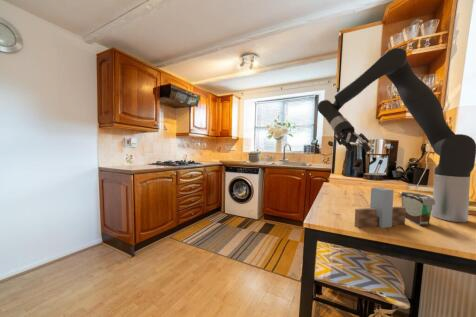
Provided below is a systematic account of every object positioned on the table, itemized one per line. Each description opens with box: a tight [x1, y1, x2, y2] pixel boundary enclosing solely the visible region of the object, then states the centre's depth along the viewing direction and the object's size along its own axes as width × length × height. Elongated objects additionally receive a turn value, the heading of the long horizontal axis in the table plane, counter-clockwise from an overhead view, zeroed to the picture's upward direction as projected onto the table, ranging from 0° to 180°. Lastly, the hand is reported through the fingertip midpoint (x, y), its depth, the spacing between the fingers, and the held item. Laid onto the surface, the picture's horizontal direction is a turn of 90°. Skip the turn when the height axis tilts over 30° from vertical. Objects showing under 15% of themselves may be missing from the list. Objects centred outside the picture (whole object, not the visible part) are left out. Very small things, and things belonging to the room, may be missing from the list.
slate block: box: [369, 186, 395, 229], centre depth 65 cm, size 4×5×13 cm
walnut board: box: [354, 205, 406, 228], centre depth 65 cm, size 20×1×6 cm, turn 101°
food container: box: [400, 191, 435, 227], centre depth 68 cm, size 12×6×10 cm, turn 168°
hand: (360, 150), depth 78 cm, fingers open, 8 cm apart
